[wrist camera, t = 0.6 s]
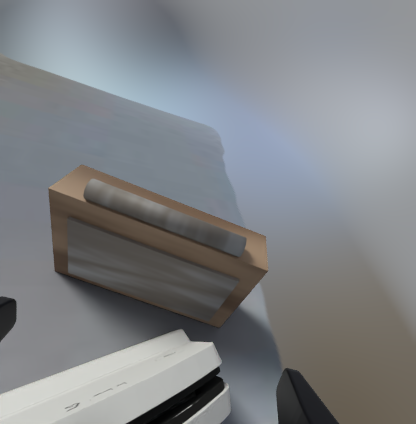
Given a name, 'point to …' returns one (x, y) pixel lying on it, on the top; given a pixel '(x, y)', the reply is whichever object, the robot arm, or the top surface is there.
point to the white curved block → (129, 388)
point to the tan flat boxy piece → (152, 247)
